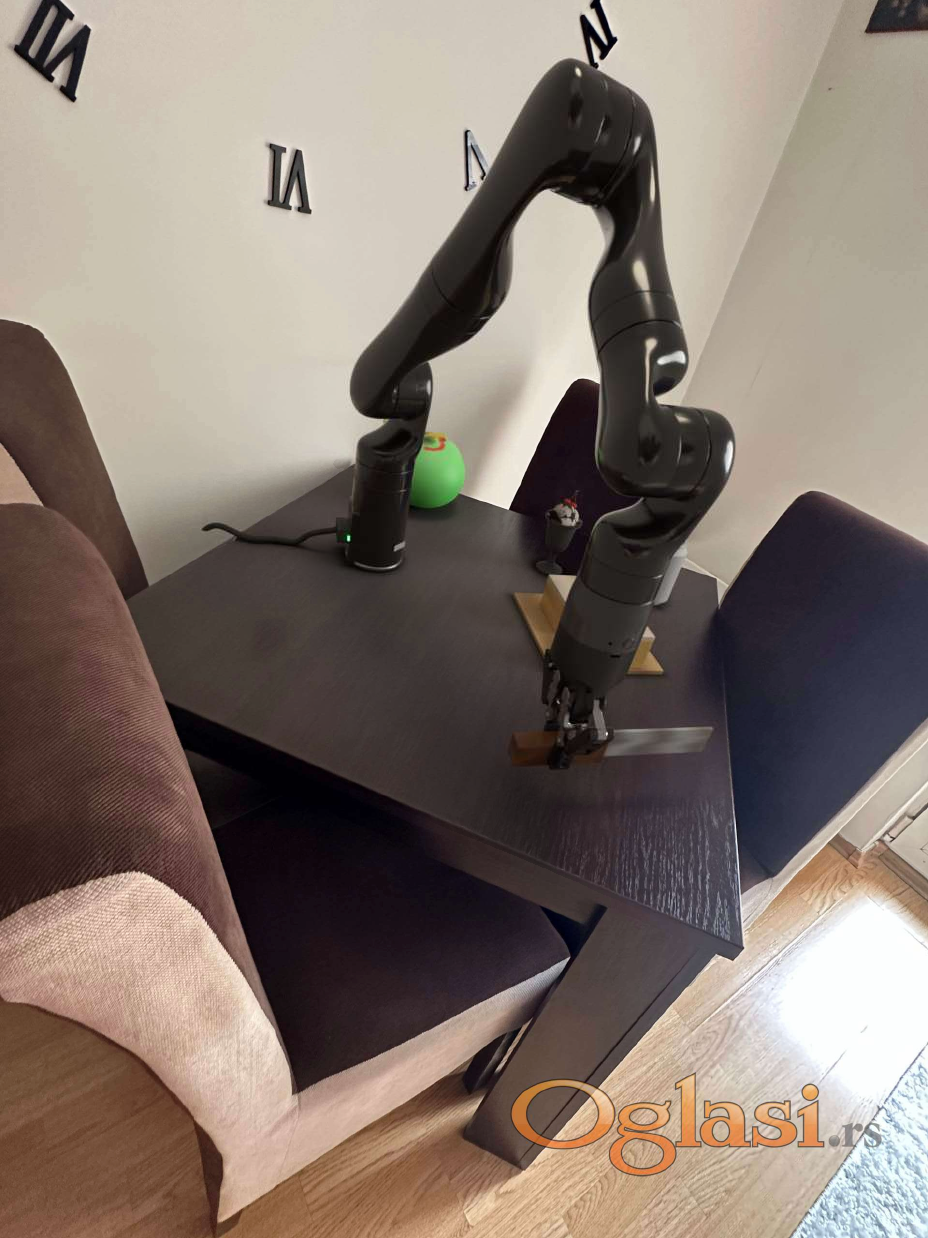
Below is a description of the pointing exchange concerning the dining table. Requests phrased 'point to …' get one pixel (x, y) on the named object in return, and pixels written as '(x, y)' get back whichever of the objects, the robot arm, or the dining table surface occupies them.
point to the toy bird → (437, 472)
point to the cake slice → (643, 649)
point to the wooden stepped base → (547, 612)
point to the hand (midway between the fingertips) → (552, 757)
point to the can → (671, 574)
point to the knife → (609, 744)
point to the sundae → (559, 533)
